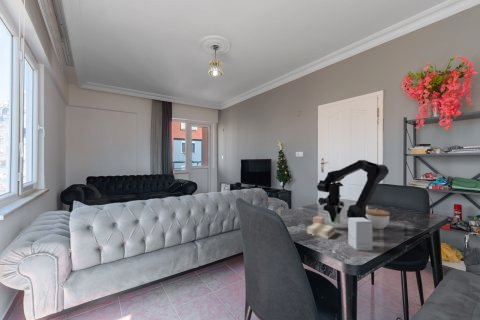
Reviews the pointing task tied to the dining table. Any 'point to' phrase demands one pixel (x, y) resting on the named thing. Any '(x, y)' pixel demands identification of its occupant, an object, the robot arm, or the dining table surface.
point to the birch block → (321, 230)
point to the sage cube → (337, 219)
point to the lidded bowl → (378, 218)
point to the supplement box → (360, 233)
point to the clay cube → (318, 220)
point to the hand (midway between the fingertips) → (334, 220)
